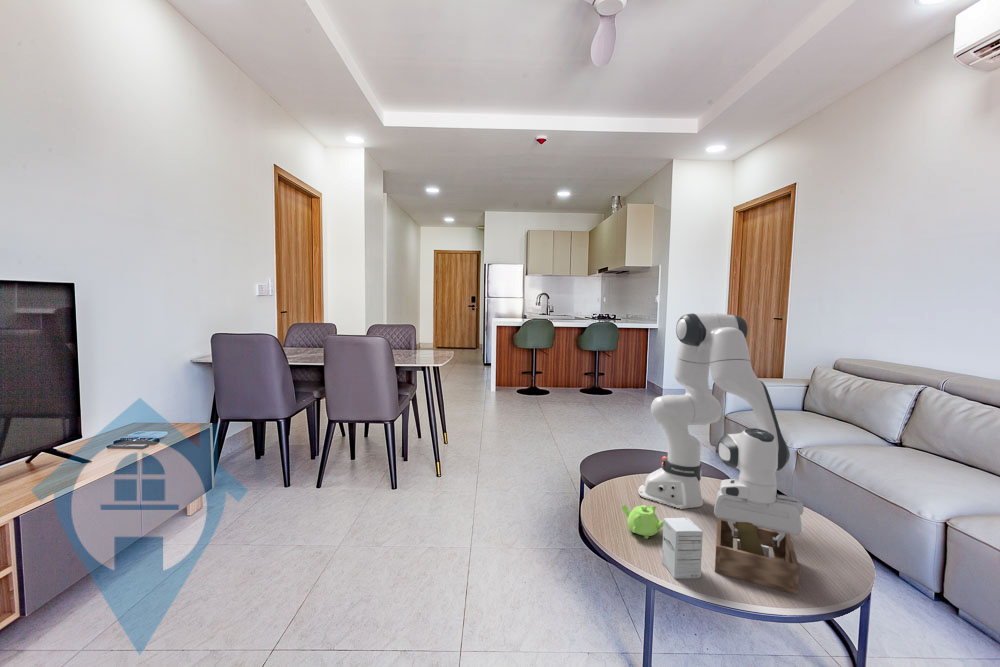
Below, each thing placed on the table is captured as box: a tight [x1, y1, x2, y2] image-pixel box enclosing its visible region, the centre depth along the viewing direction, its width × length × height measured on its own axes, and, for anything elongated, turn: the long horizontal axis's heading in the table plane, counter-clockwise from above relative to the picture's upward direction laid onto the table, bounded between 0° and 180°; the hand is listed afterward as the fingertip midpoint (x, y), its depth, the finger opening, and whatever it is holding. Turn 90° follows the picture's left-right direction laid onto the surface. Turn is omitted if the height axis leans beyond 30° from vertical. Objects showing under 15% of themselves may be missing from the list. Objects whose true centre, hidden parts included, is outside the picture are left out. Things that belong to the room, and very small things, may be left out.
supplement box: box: [661, 517, 704, 579], centre depth 111 cm, size 7×7×13 cm
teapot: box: [620, 504, 664, 539], centre depth 131 cm, size 11×12×8 cm
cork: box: [735, 522, 765, 556], centre depth 115 cm, size 6×6×11 cm
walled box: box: [714, 518, 800, 595], centre depth 115 cm, size 18×18×7 cm
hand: (754, 540), depth 114 cm, fingers open, 8 cm apart
